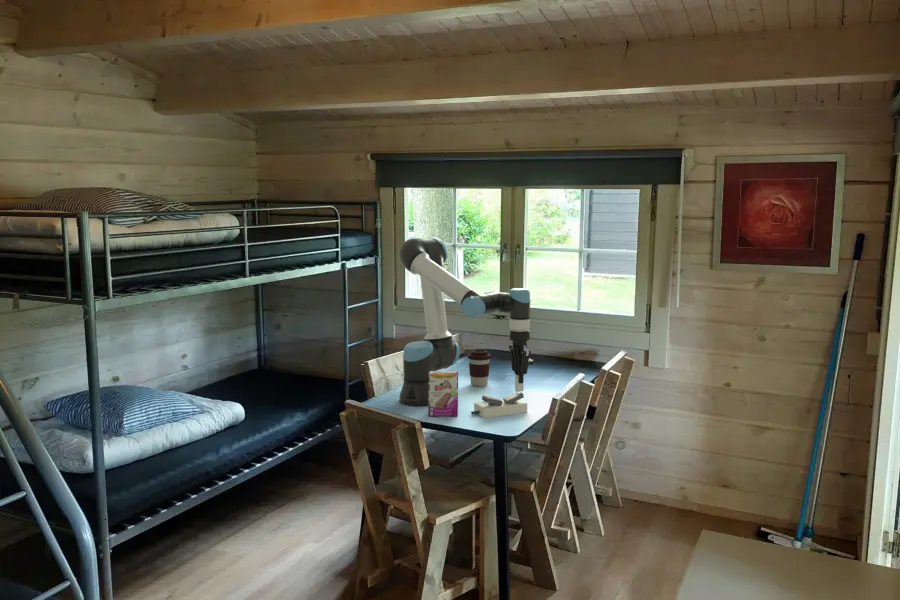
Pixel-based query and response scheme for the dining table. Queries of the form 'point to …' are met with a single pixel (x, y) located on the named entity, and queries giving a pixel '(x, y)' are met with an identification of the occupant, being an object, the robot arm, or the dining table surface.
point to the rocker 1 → (492, 400)
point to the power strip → (499, 408)
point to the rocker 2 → (513, 397)
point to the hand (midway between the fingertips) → (519, 390)
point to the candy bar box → (443, 393)
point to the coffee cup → (479, 367)
